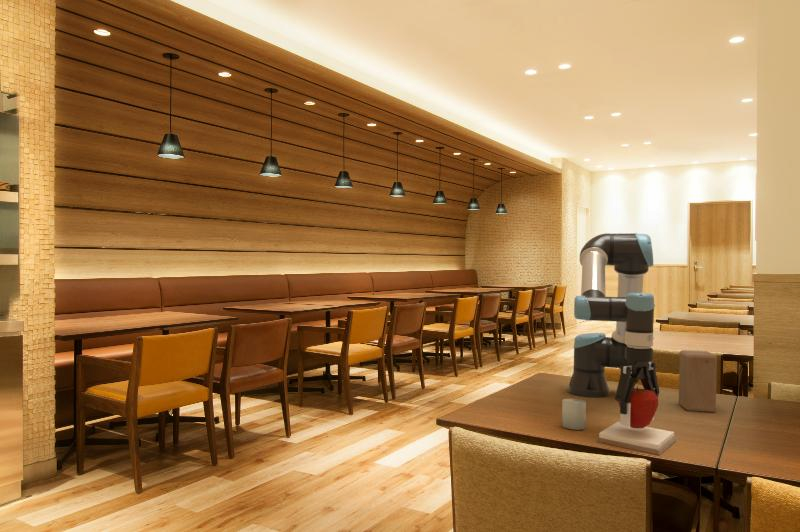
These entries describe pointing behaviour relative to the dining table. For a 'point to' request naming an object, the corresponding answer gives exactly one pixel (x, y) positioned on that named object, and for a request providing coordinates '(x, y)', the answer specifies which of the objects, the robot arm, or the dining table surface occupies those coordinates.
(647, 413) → the apple
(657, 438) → the stand
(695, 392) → the wooden block
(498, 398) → the dining table surface
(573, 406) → the white pillar candle
